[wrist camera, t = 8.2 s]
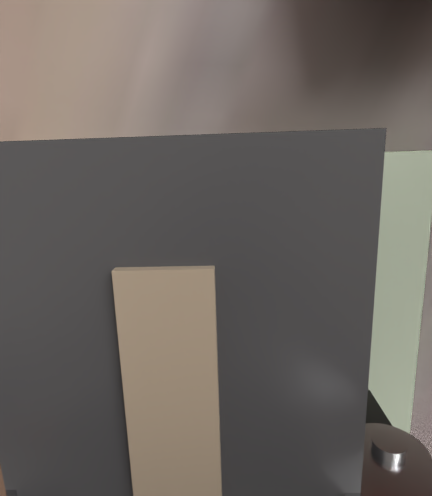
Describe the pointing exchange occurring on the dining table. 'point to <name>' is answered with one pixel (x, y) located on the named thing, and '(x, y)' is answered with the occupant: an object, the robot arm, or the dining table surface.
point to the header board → (400, 281)
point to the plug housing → (188, 313)
